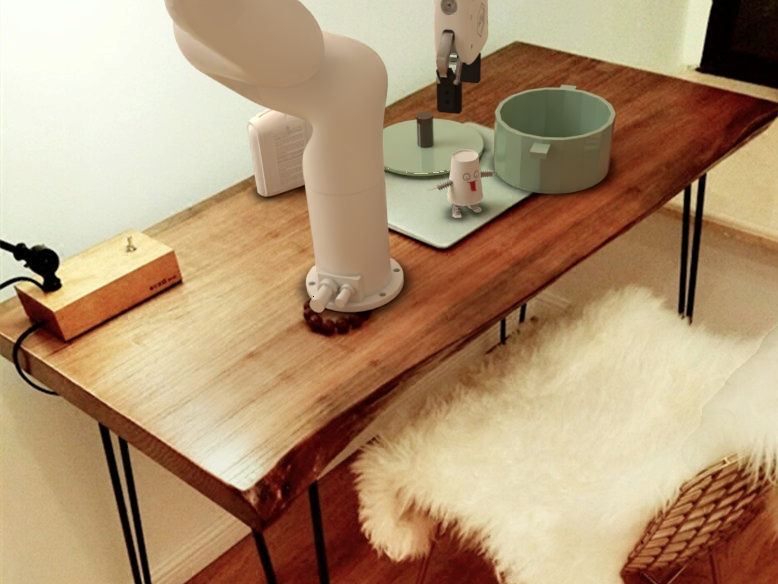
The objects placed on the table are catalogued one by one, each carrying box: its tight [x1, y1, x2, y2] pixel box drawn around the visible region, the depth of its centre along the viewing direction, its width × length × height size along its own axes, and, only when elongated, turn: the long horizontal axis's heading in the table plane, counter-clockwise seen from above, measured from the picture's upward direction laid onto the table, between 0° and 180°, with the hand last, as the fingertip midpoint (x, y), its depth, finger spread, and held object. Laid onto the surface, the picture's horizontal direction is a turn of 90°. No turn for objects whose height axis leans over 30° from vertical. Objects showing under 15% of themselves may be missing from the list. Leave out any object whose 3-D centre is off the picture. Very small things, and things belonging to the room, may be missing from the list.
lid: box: [383, 111, 485, 177], centre depth 142 cm, size 18×18×6 cm
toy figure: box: [426, 149, 504, 219], centre depth 127 cm, size 12×6×8 cm, turn 114°
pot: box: [493, 84, 617, 195], centre depth 136 cm, size 17×23×8 cm
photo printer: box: [246, 108, 313, 198], centre depth 134 cm, size 10×4×12 cm, turn 123°
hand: (459, 96), depth 121 cm, fingers open, 9 cm apart
